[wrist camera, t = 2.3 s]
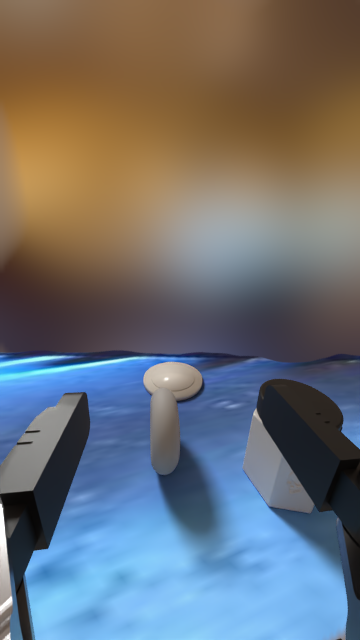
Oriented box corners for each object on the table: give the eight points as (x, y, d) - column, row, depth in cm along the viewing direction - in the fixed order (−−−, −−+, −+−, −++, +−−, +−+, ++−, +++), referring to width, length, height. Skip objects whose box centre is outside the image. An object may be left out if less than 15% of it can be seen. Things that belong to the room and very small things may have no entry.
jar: (248, 506, 22) (267, 424, 19) (237, 442, 30) (249, 374, 26) (333, 520, 21) (371, 437, 18) (299, 450, 29) (320, 382, 25)
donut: (180, 493, 23) (184, 428, 20) (151, 498, 23) (150, 431, 20) (171, 424, 33) (172, 372, 29) (150, 426, 32) (149, 374, 29)
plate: (195, 364, 51) (195, 360, 51) (208, 399, 39) (209, 394, 38) (144, 365, 49) (144, 361, 49) (141, 403, 37) (141, 397, 37)
